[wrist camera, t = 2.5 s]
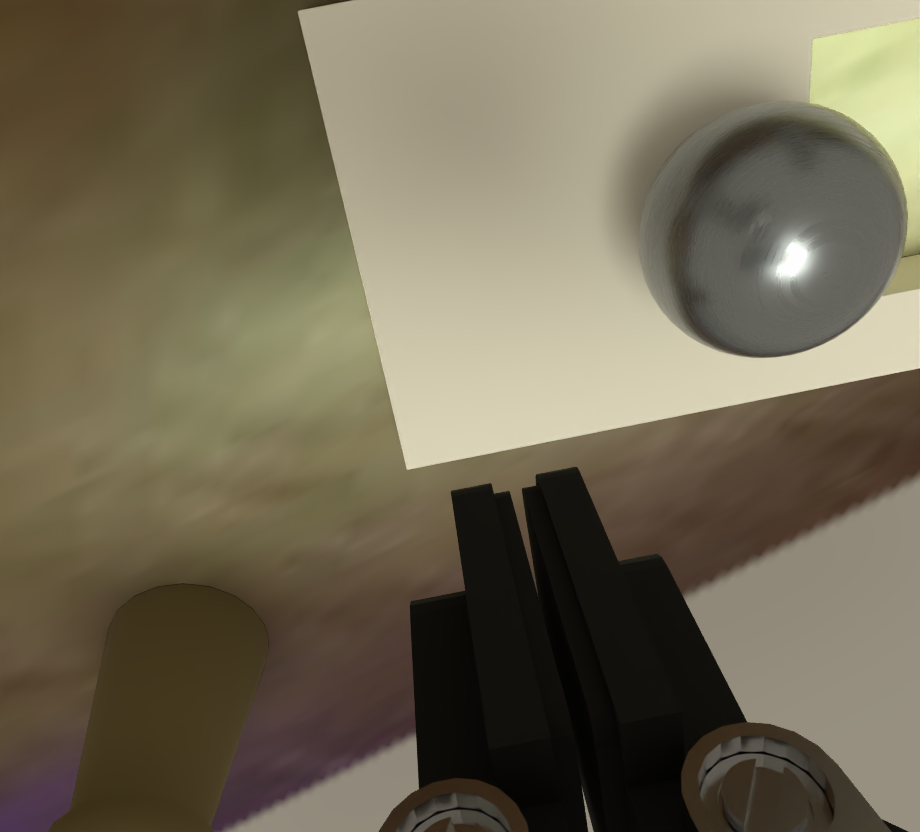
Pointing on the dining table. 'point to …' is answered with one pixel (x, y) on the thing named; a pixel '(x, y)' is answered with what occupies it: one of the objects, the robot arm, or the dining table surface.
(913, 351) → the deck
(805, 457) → the dining table surface
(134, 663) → the cork
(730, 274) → the ball
